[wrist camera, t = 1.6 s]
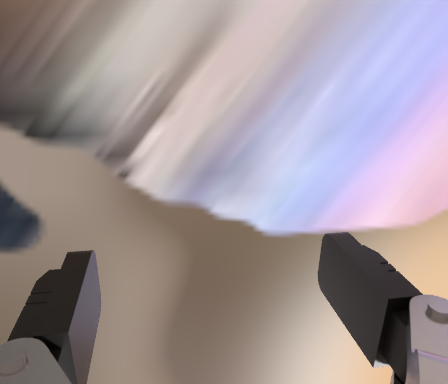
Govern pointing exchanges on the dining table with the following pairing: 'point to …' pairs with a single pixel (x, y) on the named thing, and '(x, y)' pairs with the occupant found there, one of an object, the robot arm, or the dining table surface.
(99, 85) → the dining table surface
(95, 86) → the dining table surface
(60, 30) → the dining table surface
